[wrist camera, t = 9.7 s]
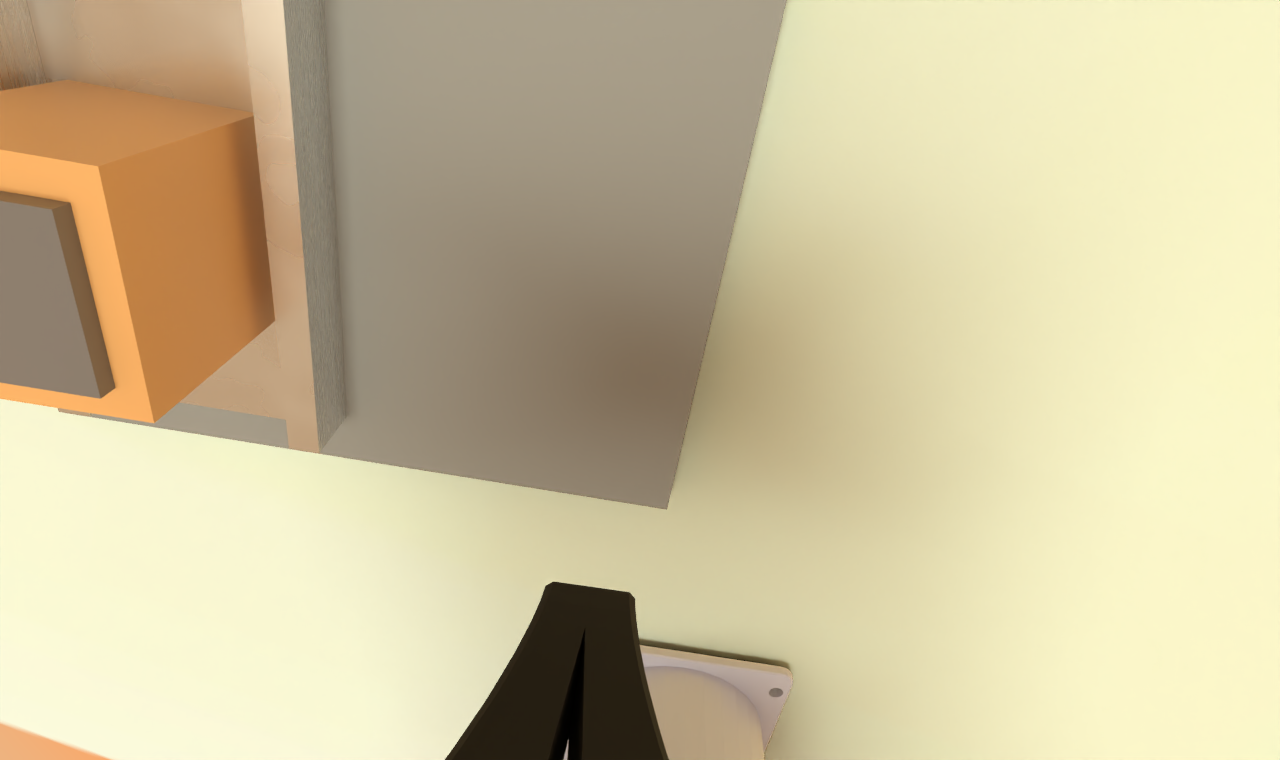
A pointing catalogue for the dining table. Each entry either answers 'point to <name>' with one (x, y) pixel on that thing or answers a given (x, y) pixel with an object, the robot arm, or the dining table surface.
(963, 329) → the dining table surface
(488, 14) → the mount board
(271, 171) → the rail
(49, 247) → the module
